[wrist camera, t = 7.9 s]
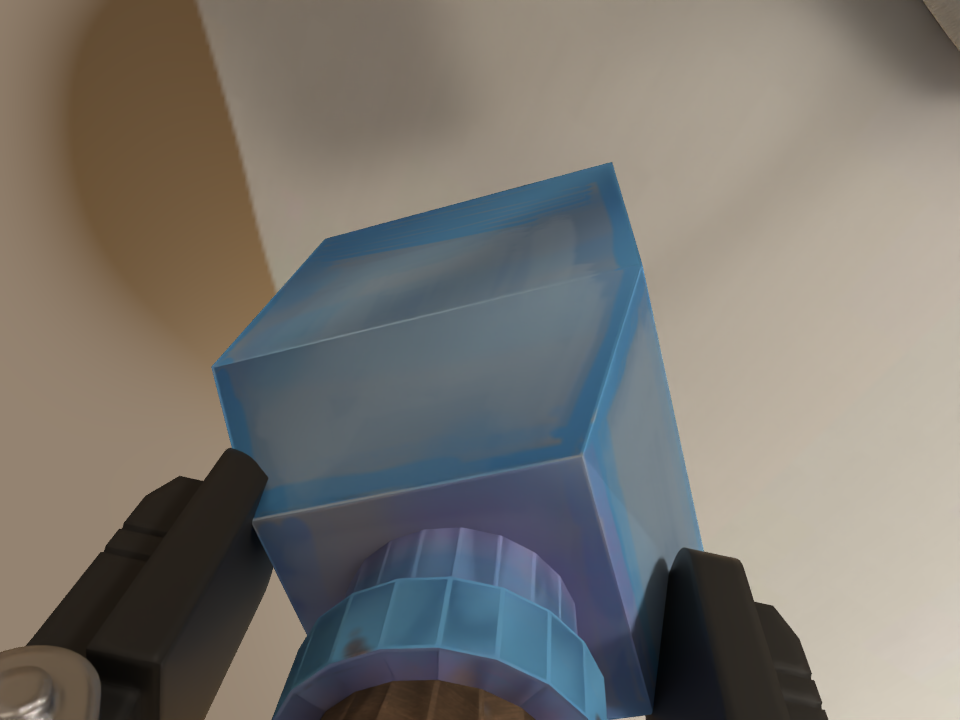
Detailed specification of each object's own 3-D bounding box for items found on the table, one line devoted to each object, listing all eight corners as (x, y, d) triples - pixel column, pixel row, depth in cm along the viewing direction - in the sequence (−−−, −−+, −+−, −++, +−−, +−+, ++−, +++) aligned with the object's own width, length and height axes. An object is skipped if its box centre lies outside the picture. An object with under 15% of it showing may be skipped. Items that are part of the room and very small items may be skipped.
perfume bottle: (415, 476, 19) (237, 1099, 9) (324, 239, 17) (-83, 696, 6) (670, 425, 18) (833, 1079, 7) (611, 162, 16) (733, 566, 5)
